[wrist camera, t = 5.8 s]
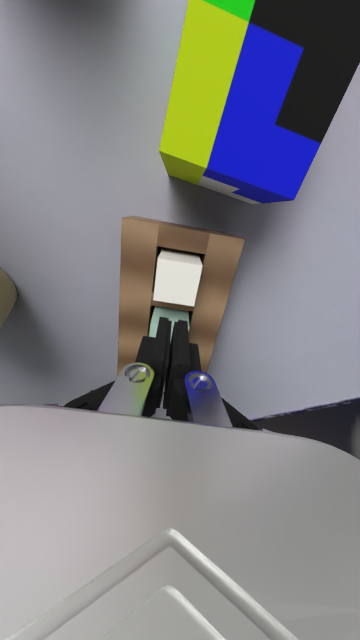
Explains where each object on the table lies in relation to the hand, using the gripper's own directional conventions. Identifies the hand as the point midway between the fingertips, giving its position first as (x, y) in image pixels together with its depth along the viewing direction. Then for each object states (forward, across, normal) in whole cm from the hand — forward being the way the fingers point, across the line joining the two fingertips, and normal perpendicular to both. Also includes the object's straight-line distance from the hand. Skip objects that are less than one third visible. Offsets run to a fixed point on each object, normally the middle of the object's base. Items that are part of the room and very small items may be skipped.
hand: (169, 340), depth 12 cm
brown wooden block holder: (+17, 0, +6) cm, 18 cm away
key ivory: (+13, 0, -1) cm, 13 cm away
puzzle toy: (+17, -3, -14) cm, 23 cm away
